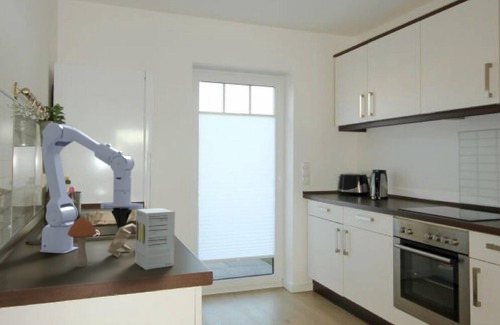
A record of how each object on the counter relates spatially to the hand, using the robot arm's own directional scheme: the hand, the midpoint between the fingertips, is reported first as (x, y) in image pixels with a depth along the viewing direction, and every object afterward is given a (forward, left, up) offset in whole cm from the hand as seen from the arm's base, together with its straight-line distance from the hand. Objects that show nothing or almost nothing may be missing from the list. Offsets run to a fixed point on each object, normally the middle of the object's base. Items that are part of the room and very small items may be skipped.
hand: (121, 230), depth 129 cm
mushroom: (-4, -17, -8) cm, 19 cm away
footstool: (-1, 0, -7) cm, 7 cm away
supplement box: (+16, -10, -8) cm, 20 cm away
